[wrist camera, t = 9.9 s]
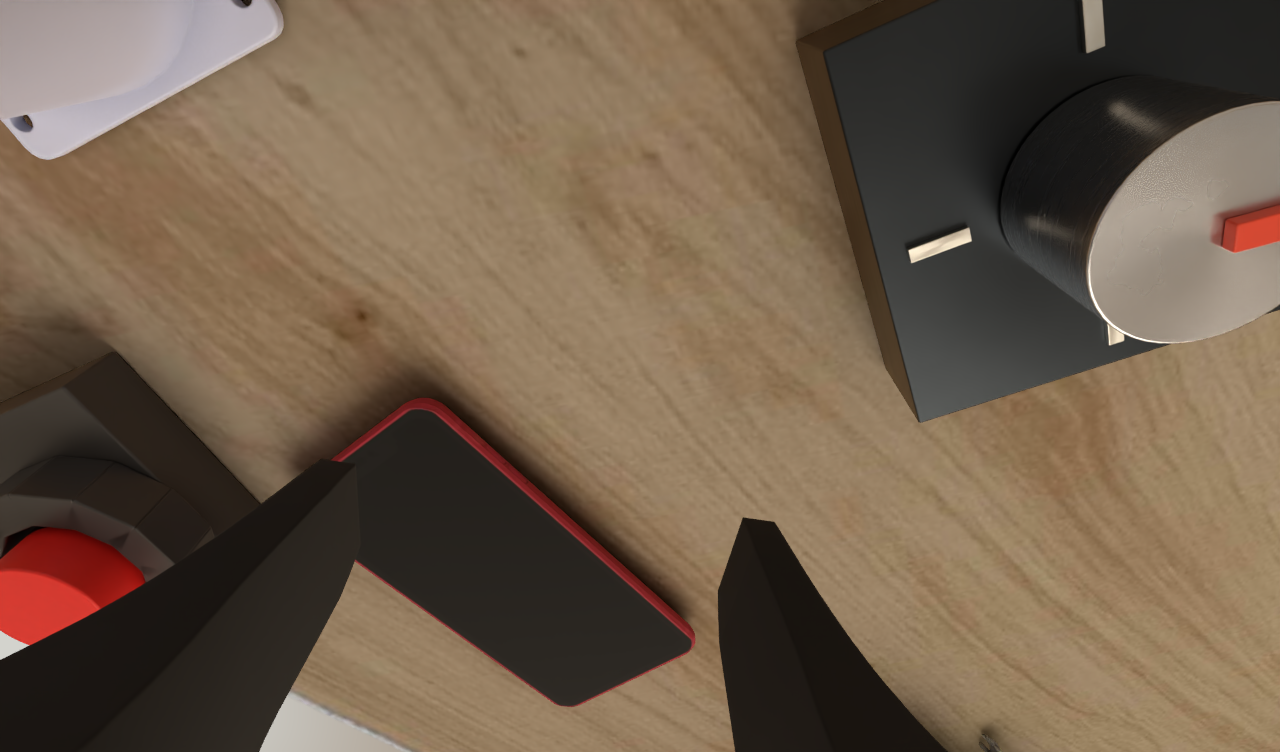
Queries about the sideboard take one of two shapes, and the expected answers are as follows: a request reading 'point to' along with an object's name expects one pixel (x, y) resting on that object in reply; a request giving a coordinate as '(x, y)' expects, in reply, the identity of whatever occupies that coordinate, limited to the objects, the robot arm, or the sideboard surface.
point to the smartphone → (502, 560)
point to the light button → (59, 582)
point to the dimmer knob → (1154, 206)
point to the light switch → (111, 468)
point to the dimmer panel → (990, 166)
